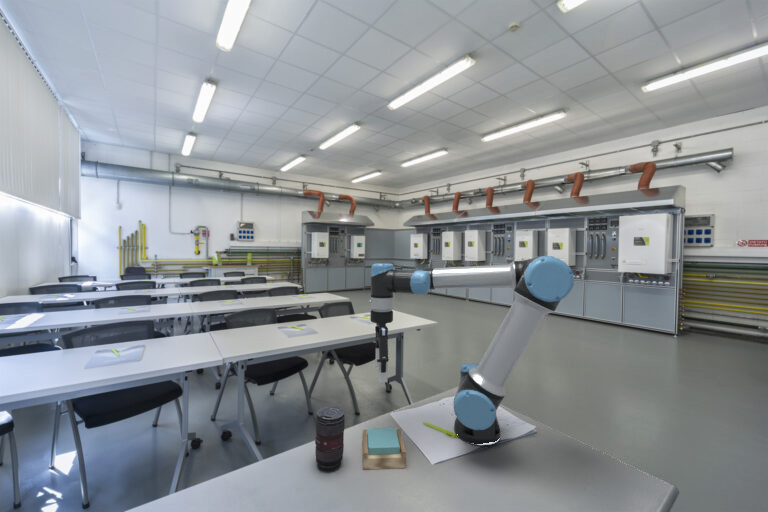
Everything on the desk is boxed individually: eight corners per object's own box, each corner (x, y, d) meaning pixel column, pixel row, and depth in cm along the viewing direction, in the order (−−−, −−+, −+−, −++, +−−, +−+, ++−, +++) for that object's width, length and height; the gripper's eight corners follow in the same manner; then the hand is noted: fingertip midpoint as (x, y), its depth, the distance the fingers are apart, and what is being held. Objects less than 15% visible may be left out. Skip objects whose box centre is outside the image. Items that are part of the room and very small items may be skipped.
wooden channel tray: (399, 442, 101) (400, 428, 101) (405, 467, 89) (405, 452, 89) (362, 443, 100) (362, 429, 100) (363, 469, 88) (363, 453, 88)
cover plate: (395, 434, 100) (395, 428, 100) (399, 454, 90) (400, 447, 90) (367, 435, 100) (367, 428, 99) (368, 455, 90) (368, 448, 90)
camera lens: (338, 476, 85) (339, 421, 85) (310, 471, 87) (311, 417, 87) (347, 457, 93) (348, 407, 93) (321, 453, 95) (322, 403, 95)
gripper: (368, 304, 117) (367, 361, 117) (372, 317, 92) (372, 390, 92) (388, 304, 117) (388, 361, 117) (398, 316, 93) (397, 389, 93)
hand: (381, 374), depth 105 cm, fingers open, 12 cm apart
